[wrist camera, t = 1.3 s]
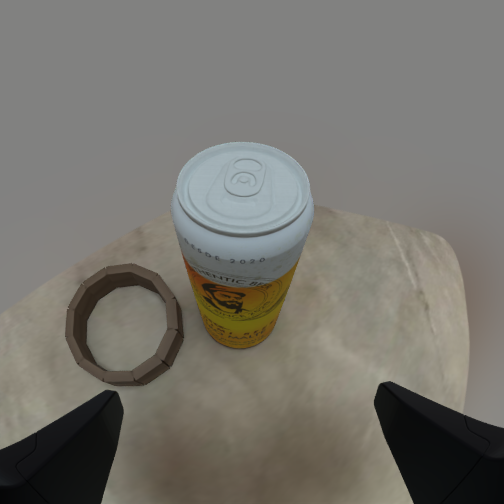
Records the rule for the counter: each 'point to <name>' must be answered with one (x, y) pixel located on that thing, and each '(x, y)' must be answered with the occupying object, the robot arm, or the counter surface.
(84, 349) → the collar
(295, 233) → the beer can
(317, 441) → the counter surface
